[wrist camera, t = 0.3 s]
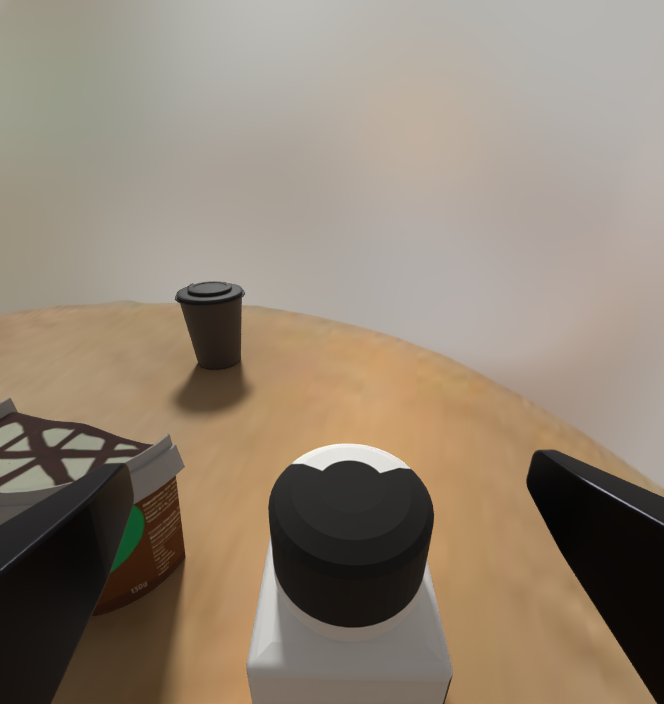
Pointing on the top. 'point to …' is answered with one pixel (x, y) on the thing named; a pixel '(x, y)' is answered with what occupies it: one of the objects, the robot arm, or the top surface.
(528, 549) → the top surface
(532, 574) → the top surface
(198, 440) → the top surface
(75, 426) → the food container
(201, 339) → the coffee cup
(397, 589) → the medicine bottle
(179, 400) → the top surface
